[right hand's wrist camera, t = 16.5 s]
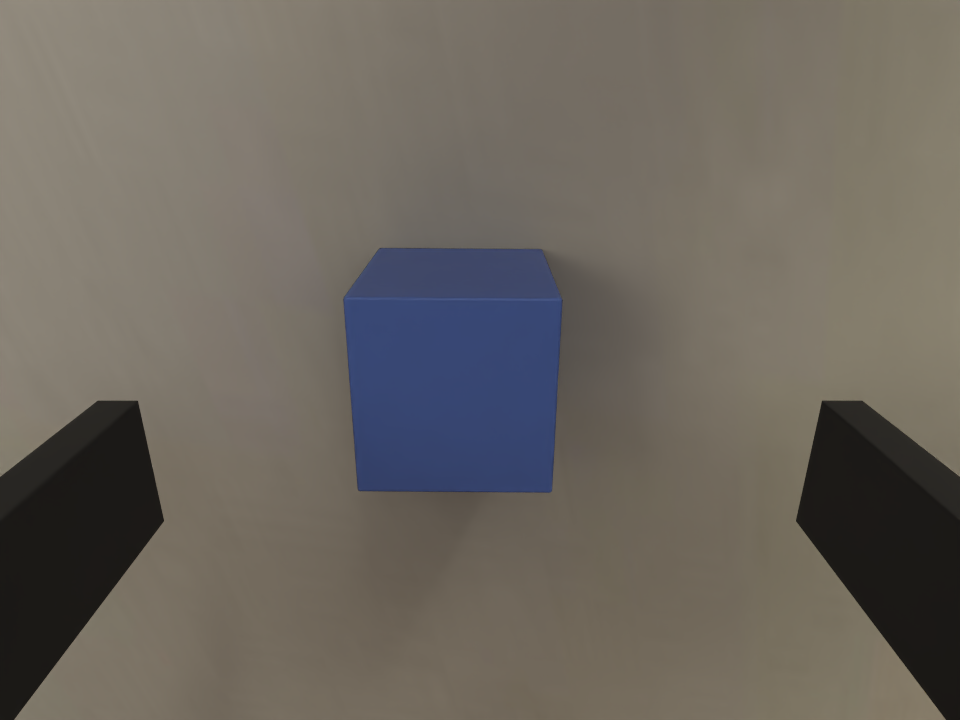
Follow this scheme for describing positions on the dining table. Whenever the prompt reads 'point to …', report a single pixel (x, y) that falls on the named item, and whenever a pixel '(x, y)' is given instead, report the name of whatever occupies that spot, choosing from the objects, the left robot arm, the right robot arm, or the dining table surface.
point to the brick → (454, 370)
